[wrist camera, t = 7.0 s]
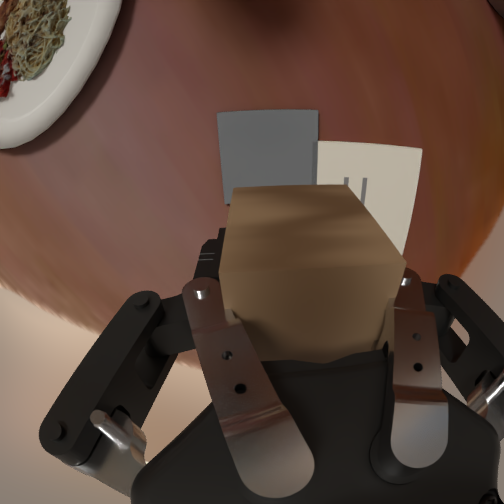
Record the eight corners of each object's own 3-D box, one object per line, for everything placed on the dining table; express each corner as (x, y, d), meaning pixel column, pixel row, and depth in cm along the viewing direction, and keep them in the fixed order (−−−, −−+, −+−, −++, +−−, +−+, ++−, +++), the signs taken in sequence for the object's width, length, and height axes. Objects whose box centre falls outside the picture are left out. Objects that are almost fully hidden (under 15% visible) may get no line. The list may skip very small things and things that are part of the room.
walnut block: (346, 184, 12) (406, 262, 7) (336, 274, 15) (368, 368, 10) (233, 187, 12) (218, 273, 7) (241, 279, 15) (237, 379, 10)
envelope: (420, 148, 24) (422, 149, 24) (393, 278, 33) (394, 280, 33) (311, 140, 24) (312, 141, 24) (305, 284, 34) (305, 287, 33)
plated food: (185, -73, 11) (178, -88, 8) (77, 172, 26) (61, 182, 23) (11, -52, 4) (-2, -55, 1) (-48, 125, 19) (-62, 131, 16)
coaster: (317, 109, 23) (318, 110, 22) (315, 199, 28) (316, 200, 27) (217, 112, 23) (216, 112, 23) (225, 202, 28) (224, 203, 28)
